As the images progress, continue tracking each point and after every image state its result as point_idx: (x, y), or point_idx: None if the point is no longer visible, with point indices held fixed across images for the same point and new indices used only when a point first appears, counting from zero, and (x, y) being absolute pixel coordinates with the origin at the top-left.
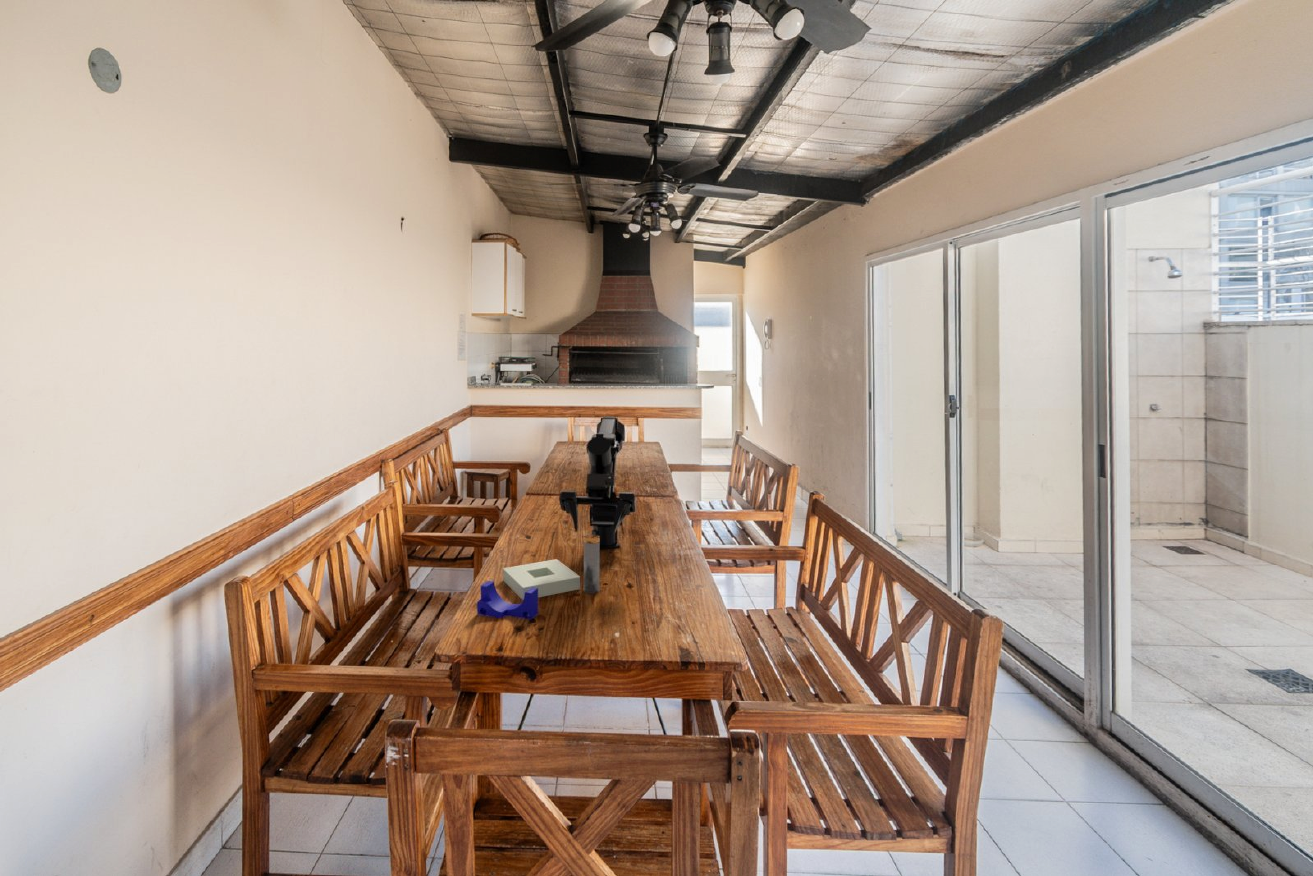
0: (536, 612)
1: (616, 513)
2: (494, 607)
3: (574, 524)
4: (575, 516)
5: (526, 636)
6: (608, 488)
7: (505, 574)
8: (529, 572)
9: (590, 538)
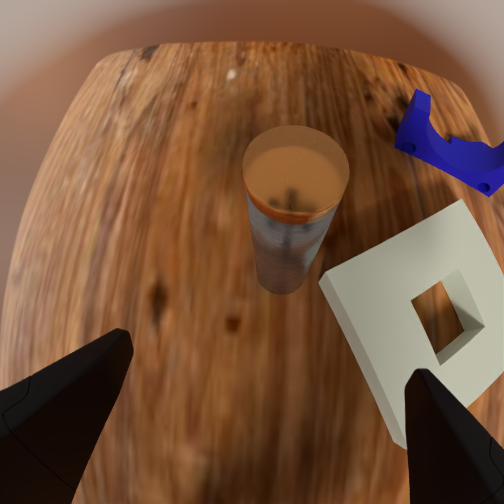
0: (397, 138)
1: (21, 413)
2: (469, 144)
3: (449, 395)
4: (474, 443)
5: (382, 83)
6: None
7: None
8: (476, 332)
9: (303, 140)
